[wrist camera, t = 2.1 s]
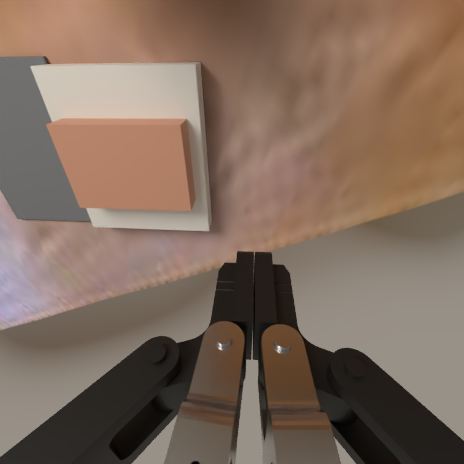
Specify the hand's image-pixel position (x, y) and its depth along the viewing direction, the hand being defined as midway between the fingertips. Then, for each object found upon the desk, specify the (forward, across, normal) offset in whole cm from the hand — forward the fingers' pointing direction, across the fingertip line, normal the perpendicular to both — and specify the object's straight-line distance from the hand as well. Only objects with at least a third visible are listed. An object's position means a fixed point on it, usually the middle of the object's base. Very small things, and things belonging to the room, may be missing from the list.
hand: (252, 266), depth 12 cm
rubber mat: (+14, +21, 0) cm, 26 cm away
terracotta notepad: (+12, +10, 0) cm, 16 cm away
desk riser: (+14, +10, 0) cm, 18 cm away
